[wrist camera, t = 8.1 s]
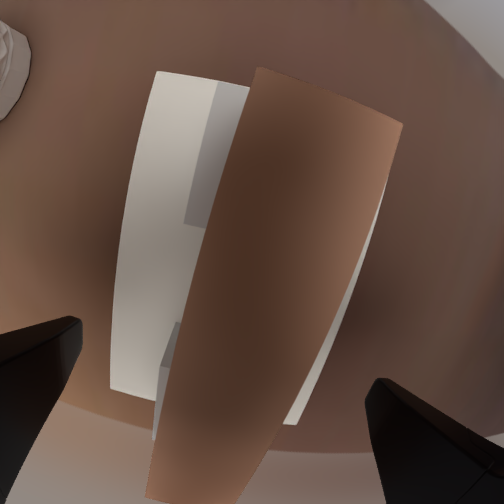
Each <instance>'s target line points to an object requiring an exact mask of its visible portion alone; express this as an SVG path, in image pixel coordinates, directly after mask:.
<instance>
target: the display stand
mask: <svg viewBox="0 0 504 504" xmlns="http://www.w3.org/2000/svg"><path fill="white" fill-rule="evenodd" d="M249 89H250V88H249V87H245V86H240V85H236V84H231V83H226V82H221V81H216V80H211V79H206V78H200V77H194V76H188V75H182V74H175V73H168V72H161V71H157V73H156V76H155V79H154V83H153V86H152V89H151V93H150V97H149V100H148V104H147V107H146V111H145V115H144V119H143V123H142V127H141V131H140V135H139V139H138V144H137V148H136V153H135V157H134V162H133V167H132V172H131V177H130V182H129V187H128V193H127V198H126V204H125V210H124V216H123V223H122V229H121V236H120V244H119V252H118V260H117V269H116V278H115V289H114V300H113V314H112V331H111V357H110V389H114V390H117V391H120V392H124V393H127V394H131V395H134V396H138V397H141V398H145V399H149V400H153V401H156V402H155V412H154V423H153V434H152V439H153V440H155V438H156V433H157V428H158V423H159V418H160V413H161V409H162V404H163V399H164V395H165V390H166V385H167V381H168V376H169V372H170V367H171V363H172V359H173V354H174V350H175V346H176V342H177V338H178V333H179V329H180V325H181V321H182V317H183V313H184V309H185V305H186V301H187V297H188V293H189V289H190V286H191V282H192V278H193V274H194V270H195V267H196V263H197V259H198V256H199V252H200V248H201V245H202V241H203V238H204V234H205V230H206V227H207V223H208V220H209V216H210V213H211V210H212V206H213V203H214V199H215V196H216V193H217V189H218V186H219V183H220V179H221V176H222V173H223V169H224V166H225V163H226V160H227V157H228V153H229V150H230V147H231V144H232V141H233V138H234V135H235V131H236V128H237V125H238V122H239V119H240V116H241V113H242V110H243V107H244V104H245V101H246V98H247V95H248V92H249ZM388 175H389V174H388ZM387 179H388V178H387ZM386 183H387V181H386ZM385 186H386V184H385ZM384 190H385V187H384ZM384 190H383V193H382V196H381V199H380V202H379V205H378V208H377V211H376V214H375V217H374V220H373V222H372V225H371V228H370V231H369V234H368V236H367V239H366V242H365V244H364V247H363V250H362V252H361V255H360V258H359V260H358V263H357V265H356V268H355V270H354V273H353V275H352V278H351V280H350V283H349V285H348V288H347V290H346V293H345V295H344V297H343V300H342V302H341V304H340V307H339V309H338V311H337V314H336V316H335V318H334V321H333V323H332V325H331V327H330V330H329V332H328V334H327V336H326V338H325V341H324V343H323V345H322V347H321V349H320V351H319V353H318V355H317V358H316V360H315V362H314V364H313V366H312V368H311V370H310V372H309V374H308V376H307V378H306V380H305V382H304V384H303V386H302V388H301V390H300V392H299V394H298V396H297V398H296V400H295V402H294V404H293V405H292V407H291V409H290V411H289V413H288V415H287V417H286V419H285V420H284V422H283V424H290V425H297V423H298V420H299V418H300V416H301V414H302V412H303V410H304V408H305V406H306V404H307V402H308V399H309V397H310V395H311V393H312V391H313V388H314V386H315V384H316V382H317V380H318V377H319V375H320V373H321V370H322V368H323V366H324V363H325V361H326V359H327V356H328V354H329V352H330V349H331V347H332V344H333V342H334V339H335V337H336V334H337V332H338V329H339V327H340V324H341V322H342V319H343V316H344V314H345V311H346V308H347V306H348V303H349V300H350V298H351V295H352V292H353V289H354V286H355V284H356V281H357V278H358V275H359V272H360V269H361V266H362V263H363V260H364V257H365V254H366V251H367V248H368V245H369V241H370V238H371V235H372V232H373V229H374V225H375V222H376V219H377V215H378V212H379V208H380V205H381V201H382V197H383V194H384Z"/></svg>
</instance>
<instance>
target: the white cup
mask: <svg viewBox="0 0 504 504" xmlns="http://www.w3.org/2000/svg"><path fill="white" fill-rule="evenodd" d="M30 59H31V50H30V47H29V44H28V41H27V37H26V36H25V35H23V34H21V33H20V32H18V31H16V30H14V29H13V28H11V27H9V26H8V25H7V24H5V23H4V22H2V20H1V19H0V121H1V120H2V119H4V118H5V117H6V115H7V114H8V113H9V111H10V110H11V108H12V107H13V106H14V104H15V103H16V102H17V100H18V99H19V97H20V95H21V92H22V90H23V87H24V85H25V82H26V80H27V78H28V75H29V67H30Z"/></svg>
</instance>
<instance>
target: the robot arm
mask: <svg viewBox="0 0 504 504" xmlns="http://www.w3.org/2000/svg"><path fill="white" fill-rule="evenodd" d="M82 344H83V325H82V321H81V319H79V318H76V317H73V316H65V317H62V318H58V319H55V320H51V321H47V322H44V323H40V324H37V325H33V326H29V327H26V328H22V329H18V330H15V331H11V332H7V333H4V334H0V504H5V502H6V498H7V496H8V494H9V492H10V490H11V488H12V486H13V483H14V481H15V479H16V477H17V475H18V473H19V471H20V469H21V467H22V465H23V463H24V461H25V459H26V457H27V455H28V453H29V451H30V449H31V447H32V445H33V443H34V441H35V440H36V438H37V436H38V434H39V432H40V430H41V429H42V427H43V425H44V423H45V421H46V420H47V418H48V416H49V414H50V412H51V411H52V409H53V407H54V405H55V403H56V402H57V400H58V398H59V397H60V395H61V393H62V391H63V390H64V388H65V385H66V383H67V381H68V379H69V376H70V374H71V372H72V369H73V367H74V365H75V363H76V361H77V358H78V356H79V354H80V352H81V349H82ZM365 409H366V415H367V421H368V428H369V434H370V440H371V445H372V449H373V452H374V456H375V460H376V464H377V468H378V472H379V475H380V479H381V484H382V487H383V491H384V496H385V500H386V504H504V448H502V447H500V446H498V445H496V444H494V443H493V442H491V441H489V440H487V439H485V438H483V437H482V436H480V435H478V434H477V433H475V432H473V431H472V430H470V429H468V428H467V429H466V427H465V426H463V425H462V424H460V423H458V422H457V421H455V420H454V419H452V418H450V417H449V416H447V415H445V414H444V413H442V412H441V411H439V410H437V409H436V408H434V407H433V406H431V405H429V404H428V403H426V402H425V401H423V400H422V399H420V398H418V397H417V396H415V395H414V394H412V393H411V392H409V391H407V390H406V389H404V388H403V387H401V386H400V385H398V384H396V383H395V382H393V381H392V380H390V379H388V378H377V379H376V380H375V381H374V383H373V385H372V387H371V389H370V390H369V392H368V394H367V396H366V398H365Z"/></svg>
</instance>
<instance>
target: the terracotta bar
mask: <svg viewBox="0 0 504 504" xmlns="http://www.w3.org/2000/svg"><path fill="white" fill-rule="evenodd" d="M402 126H403V124H402V123H400V122H398V121H396V120H394V119H392V118H390V117H388V116H386V115H384V114H382V113H380V112H378V111H375V110H373V109H371V108H369V107H367V106H364V105H362V104H360V103H358V102H355V101H353V100H351V99H348V98H346V97H344V96H341V95H339V94H336V93H334V92H331V91H329V90H326V89H324V88H321V87H318V86H316V85H313V84H310V83H307V82H305V81H302V80H299V79H296V78H293V77H290V76H287V75H284V74H281V73H278V72H275V71H272V70H268V69H265V68H262V67H257V69H256V72H255V75H254V78H253V81H252V84H251V87H250V89H249V92H248V95H247V98H246V101H245V104H244V107H243V110H242V113H241V116H240V119H239V122H238V125H237V128H236V131H235V135H234V138H233V141H232V144H231V147H230V150H229V153H228V157H227V160H226V163H225V166H224V169H223V173H222V176H221V179H220V183H219V186H218V189H217V193H216V196H215V199H214V203H213V206H212V210H211V213H210V216H209V220H208V223H207V227H206V230H205V234H204V238H203V241H202V245H201V248H200V252H199V256H198V259H197V263H196V267H195V270H194V274H193V278H192V282H191V286H190V289H189V293H188V297H187V301H186V305H185V309H184V313H183V317H182V321H181V325H180V329H179V333H178V338H177V342H176V346H175V350H174V354H173V359H172V363H171V367H170V372H169V376H168V381H167V385H166V390H165V395H164V399H163V404H162V409H161V413H160V418H159V423H158V428H157V433H156V438H155V443H154V449H153V454H152V459H151V465H150V470H149V477H148V482H147V487H146V494H145V497H146V498H149V499H153V500H157V501H161V502H165V503H170V504H235V502H236V501H237V499H238V498H239V496H240V495H241V493H242V492H243V490H244V488H245V487H246V485H247V484H248V482H249V481H250V479H251V477H252V476H253V474H254V472H255V471H256V469H257V467H258V466H259V464H260V462H261V461H262V459H263V457H264V456H265V454H266V452H267V451H268V449H269V447H270V445H271V444H272V442H273V440H274V438H275V437H276V435H277V433H278V431H279V429H280V428H281V426H282V424H283V422H284V420H285V419H286V417H287V415H288V413H289V411H290V409H291V407H292V405H293V404H294V402H295V400H296V398H297V396H298V394H299V392H300V390H301V388H302V386H303V384H304V382H305V380H306V378H307V376H308V374H309V372H310V370H311V368H312V366H313V364H314V362H315V360H316V358H317V355H318V353H319V351H320V349H321V347H322V345H323V343H324V341H325V338H326V336H327V334H328V332H329V330H330V327H331V325H332V323H333V321H334V318H335V316H336V314H337V311H338V309H339V307H340V304H341V302H342V300H343V297H344V295H345V293H346V290H347V288H348V285H349V283H350V280H351V278H352V275H353V273H354V270H355V268H356V265H357V263H358V260H359V258H360V255H361V252H362V250H363V247H364V244H365V242H366V239H367V236H368V234H369V231H370V228H371V225H372V222H373V220H374V217H375V214H376V211H377V208H378V205H379V202H380V199H381V196H382V193H383V190H384V187H385V184H386V181H387V178H388V174H389V171H390V168H391V165H392V161H393V158H394V155H395V151H396V148H397V144H398V141H399V137H400V134H401V130H402Z"/></svg>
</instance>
